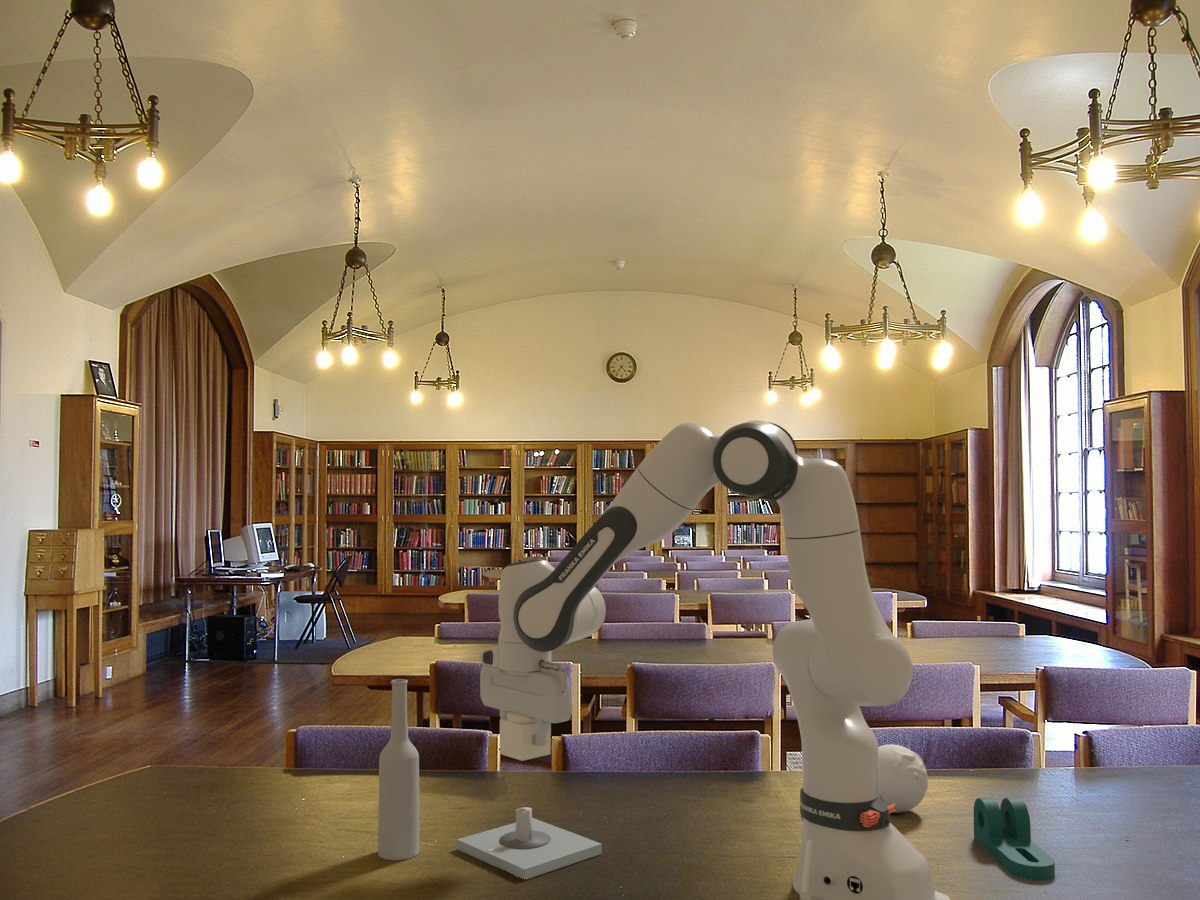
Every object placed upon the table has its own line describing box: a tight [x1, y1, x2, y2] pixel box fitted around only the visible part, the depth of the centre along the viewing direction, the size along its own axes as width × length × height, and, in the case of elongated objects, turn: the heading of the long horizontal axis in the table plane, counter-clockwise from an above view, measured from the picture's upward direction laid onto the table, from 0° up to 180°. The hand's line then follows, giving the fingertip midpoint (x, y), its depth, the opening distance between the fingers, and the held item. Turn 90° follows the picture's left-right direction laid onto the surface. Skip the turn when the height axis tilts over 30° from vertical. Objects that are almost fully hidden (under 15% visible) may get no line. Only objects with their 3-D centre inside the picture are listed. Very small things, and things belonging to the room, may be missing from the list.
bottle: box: [377, 678, 420, 862], centre depth 163 cm, size 7×7×28 cm
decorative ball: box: [878, 743, 929, 814], centre depth 183 cm, size 12×12×12 cm
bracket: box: [973, 797, 1056, 881], centre depth 159 cm, size 18×7×8 cm, turn 0°
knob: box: [499, 712, 552, 762], centre depth 164 cm, size 6×6×7 cm
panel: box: [456, 806, 603, 881], centre depth 163 cm, size 18×16×7 cm
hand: (524, 741), depth 164 cm, fingers closed on knob, 6 cm apart
